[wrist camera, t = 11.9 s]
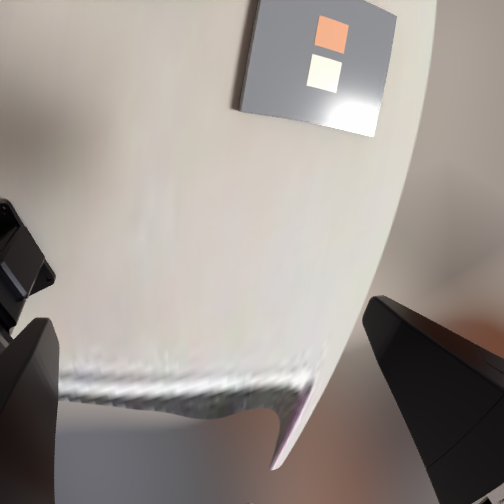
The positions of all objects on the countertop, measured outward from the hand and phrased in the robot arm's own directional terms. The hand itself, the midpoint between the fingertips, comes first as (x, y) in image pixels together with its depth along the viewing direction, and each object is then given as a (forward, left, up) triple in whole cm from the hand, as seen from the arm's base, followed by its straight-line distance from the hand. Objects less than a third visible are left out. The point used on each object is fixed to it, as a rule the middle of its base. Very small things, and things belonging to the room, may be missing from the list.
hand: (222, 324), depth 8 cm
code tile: (+10, +5, -12) cm, 17 cm away
